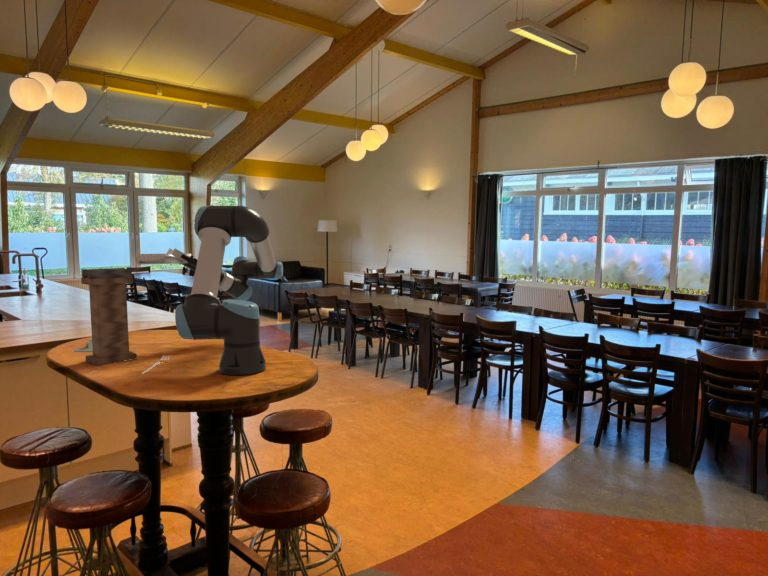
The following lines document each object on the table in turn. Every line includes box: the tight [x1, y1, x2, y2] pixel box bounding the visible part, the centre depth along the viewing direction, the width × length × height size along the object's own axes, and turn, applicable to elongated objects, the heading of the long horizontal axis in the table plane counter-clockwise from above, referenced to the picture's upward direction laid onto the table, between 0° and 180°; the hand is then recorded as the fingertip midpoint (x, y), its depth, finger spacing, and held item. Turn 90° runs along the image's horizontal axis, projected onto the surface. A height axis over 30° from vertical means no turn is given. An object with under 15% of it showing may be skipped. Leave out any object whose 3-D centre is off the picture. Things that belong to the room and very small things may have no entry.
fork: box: [140, 355, 170, 375], centre depth 182 cm, size 3×20×2 cm, turn 0°
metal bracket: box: [73, 339, 93, 353], centre depth 212 cm, size 14×6×15 cm
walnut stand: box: [80, 267, 138, 367], centre depth 190 cm, size 14×10×33 cm
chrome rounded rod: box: [135, 252, 193, 266], centre depth 204 cm, size 20×4×4 cm, turn 136°
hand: (170, 251), depth 205 cm, fingers closed on chrome rounded rod, 4 cm apart
